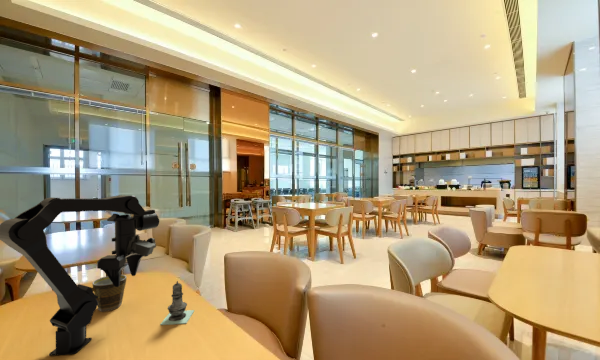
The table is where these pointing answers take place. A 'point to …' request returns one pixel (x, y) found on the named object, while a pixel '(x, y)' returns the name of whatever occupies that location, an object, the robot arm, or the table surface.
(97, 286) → the ceramic cup
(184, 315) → the grey stone tiered figure
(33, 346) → the table surface
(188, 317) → the plate
